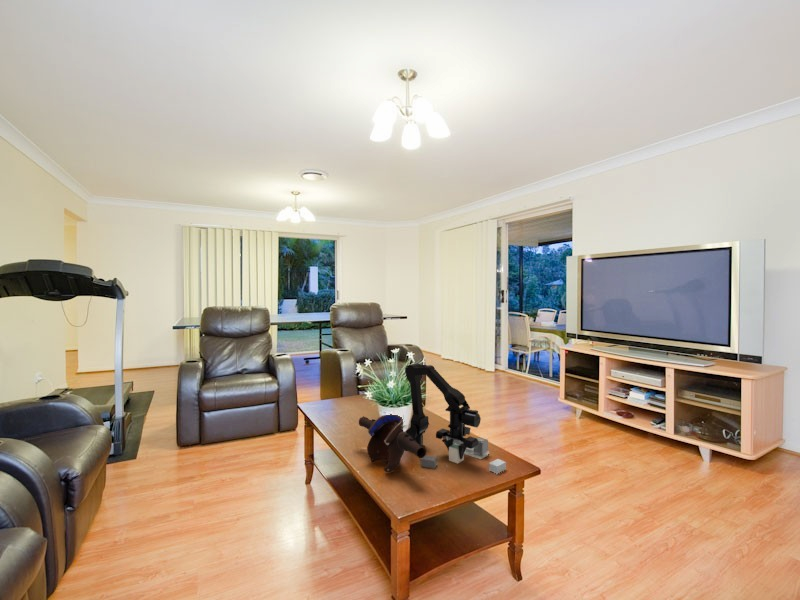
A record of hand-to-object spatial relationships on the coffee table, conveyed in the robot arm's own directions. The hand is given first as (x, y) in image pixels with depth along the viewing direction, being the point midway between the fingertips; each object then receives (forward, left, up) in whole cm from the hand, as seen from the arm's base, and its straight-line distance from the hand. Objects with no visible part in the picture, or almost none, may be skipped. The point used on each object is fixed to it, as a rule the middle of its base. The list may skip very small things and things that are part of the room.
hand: (456, 457), depth 168 cm
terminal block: (+3, -18, -1) cm, 18 cm away
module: (0, 0, -1) cm, 1 cm away
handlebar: (-23, +19, -1) cm, 30 cm away
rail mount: (+11, 0, -1) cm, 11 cm away
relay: (-12, +6, -1) cm, 13 cm away
